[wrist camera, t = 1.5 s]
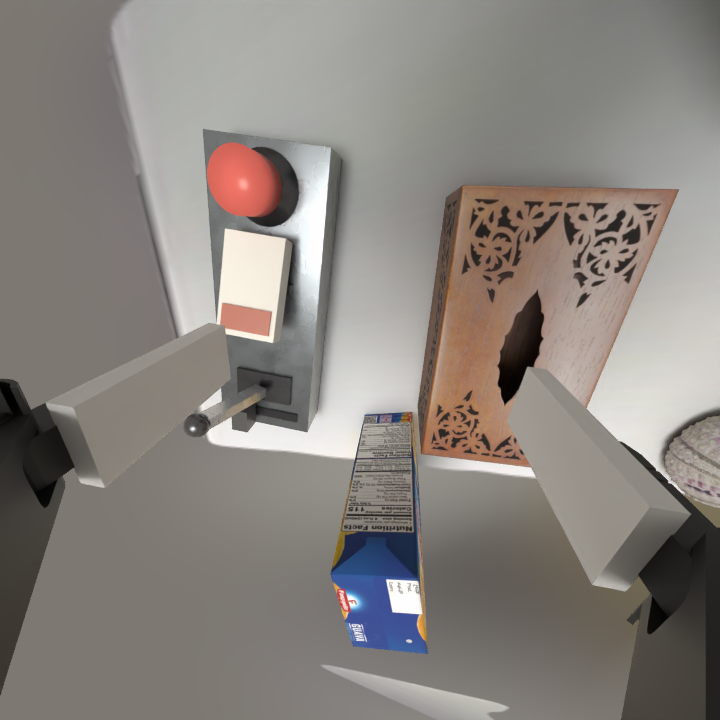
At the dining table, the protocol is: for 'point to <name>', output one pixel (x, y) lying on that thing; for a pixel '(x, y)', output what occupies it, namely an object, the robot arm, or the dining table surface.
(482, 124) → the dining table surface
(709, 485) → the sea urchin shell
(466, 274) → the tissue box cover
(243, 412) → the slider
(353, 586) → the beverage box
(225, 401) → the toggle
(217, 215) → the console
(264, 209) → the button
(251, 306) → the plate
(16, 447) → the robot arm
